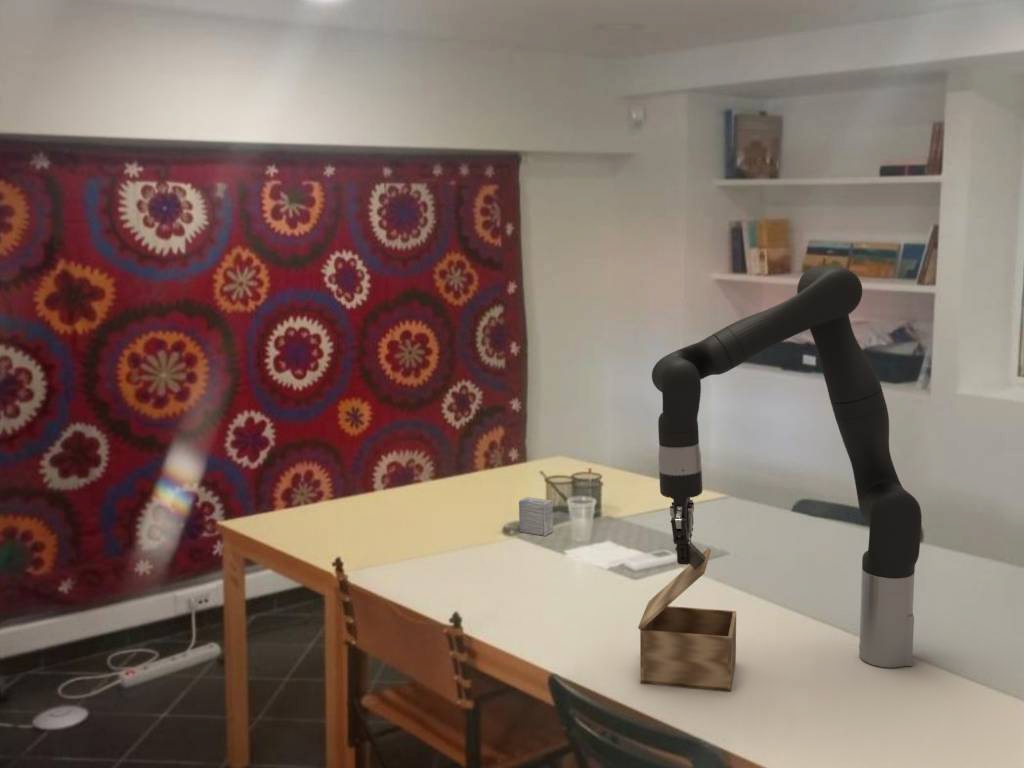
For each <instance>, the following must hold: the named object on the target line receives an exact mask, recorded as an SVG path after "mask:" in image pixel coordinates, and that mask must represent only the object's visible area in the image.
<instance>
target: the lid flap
mask: <svg viewBox="0 0 1024 768" xmlns="http://www.w3.org/2000/svg"><path fill="white" fill-rule="evenodd" d="M689 546H690V563H689V564H688V566H686V568H684V569H683V570H682V571H681V572H680V573H679V574H678V575H676V576H675V577H674V579H672V580H671V581H670V582H669V583H668V584H666V585H665V586H664V587H663V588H662V589H661V590H659V592H657V593H656V595H654V596H653V597H652V598H651V599H650V600H649V601H648V602H647V604H646V606H645V609H644V612H643V614H642V616H641V619H640V622H639V624H638V626H637V629H638V630H639V631H640V630H641V629H642V628H643V627H644V626H646V625H647V624H648V623H649V622H650V621H651V620H652V619H653V618H655V617H656V616H657V615H658V614H659V613H660V612H661V611H663V610H664V609H665V608H666V607H667V606H670V605H671V604H672V603H673V602H674V601H675V600H676V599H677V598H678V597H680V596H681V595H682V594H683V593H684V592H685V591H687V590H688V589H689V588H690V587H691V586H692V585H693V584H694V583H695V582H696V581H698V580H699V579H700V578H701V577H703V575H705V572H706V569H707V565H708V561H709V558H710V554H711V551H712V549H710V547H708V548H707V549H706V550H705V551H704V552H701V551H700V550H699V549H698V548H697V547H696V545H694V544H693V542H692V541H691V542H690V544H689ZM674 550H675V551H676V552H677V545H676V546H675V549H674Z"/></svg>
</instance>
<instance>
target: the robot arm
mask: <svg viewBox="0 0 1024 768" xmlns="http://www.w3.org/2000/svg"><path fill="white" fill-rule="evenodd" d="M796 292H797V293H796V294H795V295H793V296H792V297H791V298H788V299H787V300H785V301H783V302H780V303H779V304H776V305H775V306H772V307H770V308H767V309H765V310H762V311H760V312H757V313H754V314H752V315H750V316H747V317H744V318H742V319H739V320H737V321H735V322H733V323H731V324H729V325H727V326H725V327H723V328H721V329H720V330H718V331H716V332H714V333H712V334H711V335H709V336H707V337H706V338H704V339H702V340H700V341H698V342H696V343H692V344H690V345H687V346H685V347H683V348H679V349H677V350H675V351H672V352H671V353H669V354H666V355H665V356H663V357H661V358H660V359H659V360H658V361H657V362H656V363H655V364H654V366H653V368H652V371H651V380H652V383H653V385H654V386H655V388H656V389H657V390H658V391H659V392H660V393H661V394H662V412H661V413H660V415H659V416H658V422H657V423H658V447H659V448H658V457H657V458H658V473H659V490H660V491H659V492H660V494H661V496H663V497H665V498H669V499H672V500H673V501H672V502H671V505H670V506H669V515H670V517H671V519H670V523H671V530H672V536H673V537H672V538H673V540H672V541H673V544H674V545H676V546H677V551H676V557H677V561H676V562H677V564H678V565H688V566H689V565H690V564H689V563H690V546H689V544H690V542H691V543H692V538H693V531H694V523H695V521H694V520H695V518H694V511H695V502H694V501H693V499H691V498H696V497H698V496H700V495H701V494H702V493H703V491H704V489H703V474H702V473H703V472H702V469H703V468H702V454H701V449H700V442H699V441H700V439H699V437H700V435H699V420H698V415H699V411H700V402H701V393H702V392H701V391H702V385H701V380H703V379H705V378H708V377H710V376H715V375H717V376H718V375H722V374H725V373H727V372H729V371H731V370H733V369H735V368H736V367H738V366H740V365H742V364H744V363H746V362H748V360H751V359H752V358H755V357H756V356H757V355H760V354H761V353H763V352H765V351H768V349H771V348H772V347H774V346H776V345H778V344H780V343H782V342H784V341H786V340H788V339H790V338H793V337H795V336H796V335H798V334H800V333H801V334H802V333H803V332H805V331H808V330H809V331H810V334H811V336H812V340H813V341H814V344H815V348H816V351H817V353H818V354H817V355H818V359H819V363H820V367H821V370H822V375H823V377H824V381H825V385H826V388H827V393H828V398H829V401H830V404H831V408H832V411H833V415H834V417H835V422H836V424H837V425H836V426H837V428H838V431H839V434H840V436H841V439H842V443H843V445H844V447H845V451H846V453H847V455H848V458H849V460H850V465H851V469H852V472H853V473H852V474H853V478H854V483H855V484H854V485H855V490H856V496H857V502H858V508H859V511H860V515H861V517H862V519H863V520H864V522H865V523H866V524H867V525H868V526H869V531H868V533H869V535H868V548H867V550H866V551H864V553H863V554H862V559H861V561H862V563H861V587H860V588H861V590H860V592H861V593H860V615H859V619H860V620H859V644H858V647H859V648H858V649H859V650H858V656H859V658H860V659H861V660H862V661H863V662H865V663H867V664H869V665H872V666H876V667H881V668H891V669H892V668H893V669H895V668H903V667H912V666H913V657H914V656H913V653H914V652H913V650H914V628H915V627H914V626H915V616H914V596H915V595H914V592H915V573H916V571H915V570H916V564H917V562H918V559H919V556H920V548H921V547H920V546H921V535H922V521H923V520H922V516H923V515H922V509H921V506H920V503H919V501H918V500H917V499H916V498H915V496H914V495H912V494H911V493H909V491H907V490H906V489H905V488H904V487H903V485H902V484H901V481H900V478H899V476H898V474H897V472H896V469H895V465H894V463H893V460H892V456H891V451H890V418H889V411H888V406H887V403H886V398H885V395H884V392H883V388H882V385H881V381H880V378H879V377H878V375H877V373H876V370H875V368H874V366H872V363H871V362H870V360H869V358H868V357H867V355H866V354H865V352H864V351H863V349H862V347H861V346H860V344H859V342H858V340H857V338H856V336H855V334H854V330H853V327H852V323H851V318H850V314H851V313H852V312H853V311H855V310H856V309H857V307H858V306H859V304H860V302H861V300H862V297H863V286H862V282H861V280H860V278H859V277H858V275H857V274H856V273H854V272H853V271H852V270H850V269H847V268H845V267H842V266H832V265H831V266H829V265H828V266H827V265H819V266H817V265H816V266H813V267H811V268H808V269H807V270H806V271H805V272H804V273H803V274H802V275H801V276H800V278H799V281H798V283H797V290H796Z"/></svg>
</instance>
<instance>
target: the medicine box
mask: <svg viewBox="0 0 1024 768" xmlns="http://www.w3.org/2000/svg"><path fill="white" fill-rule="evenodd" d="M553 510H554V509H553V500H550V499H543V498H538V497H530V496H529V497H528V496H527V497H524V498H522V499H520V500H518V511H519V512H518V514H519V515H518V519H519V521H518V522H519V533H525V534H529V535H530V534H532V535H538V536H543V537H546V536H548V535H550V534H552V533H553V532H554V520H553V519H554V518H553V517H554V515H553V514H554V513H553Z"/></svg>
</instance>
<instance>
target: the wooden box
mask: <svg viewBox="0 0 1024 768" xmlns="http://www.w3.org/2000/svg"><path fill="white" fill-rule="evenodd" d="M639 631H640V633H639V634H640V635H639V636H640V637H639V639H640V641H639V642H640V651H639V652H640V655H639V656H640V658H639V659H640V664H639V665H640V668H639V669H640V676H639V677H640V680H639V681H640V684H644V685H655V686H665V687H674V688H675V687H676V688H687V689H696V690H697V689H698V690H706V691H707V690H708V691H719V692H728V693H730V692H731V691H732V686H733V681H734V680H733V679H734V674H735V669H736V660H737V657H736V656H737V610H728V609H727V610H725V609H713V608H712V609H711V608H699V607H685V606H684V607H683V606H675V605H674V606H673V605H672V606H671V605H668V606H667V607H666V608H665V609H664V610H663V611H661V612H660V613H659V614H658V615H657V616H656V617H655V618H653V619H652V620H651V621H650V622H649V623H648V624H647V625H646V626H644V627H643V628H642V629H641V630H640V629H639Z"/></svg>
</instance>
